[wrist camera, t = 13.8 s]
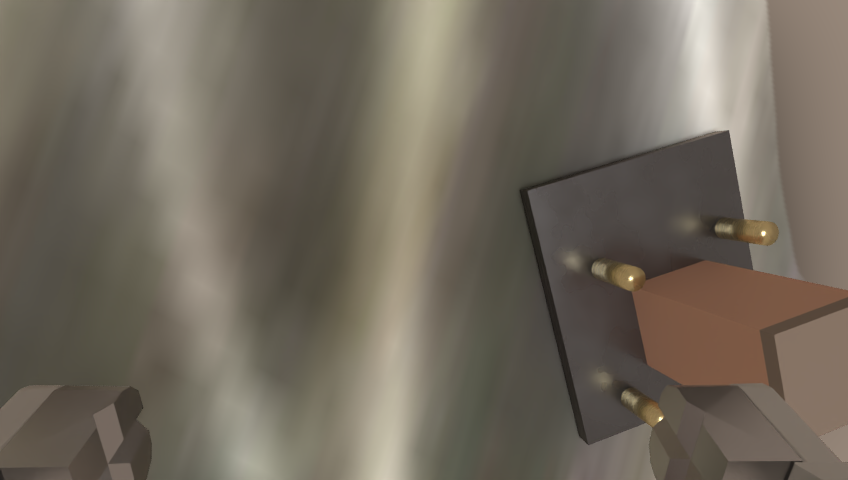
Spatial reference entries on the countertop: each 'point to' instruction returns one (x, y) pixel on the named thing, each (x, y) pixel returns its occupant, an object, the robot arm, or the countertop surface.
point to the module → (750, 335)
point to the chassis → (630, 264)
